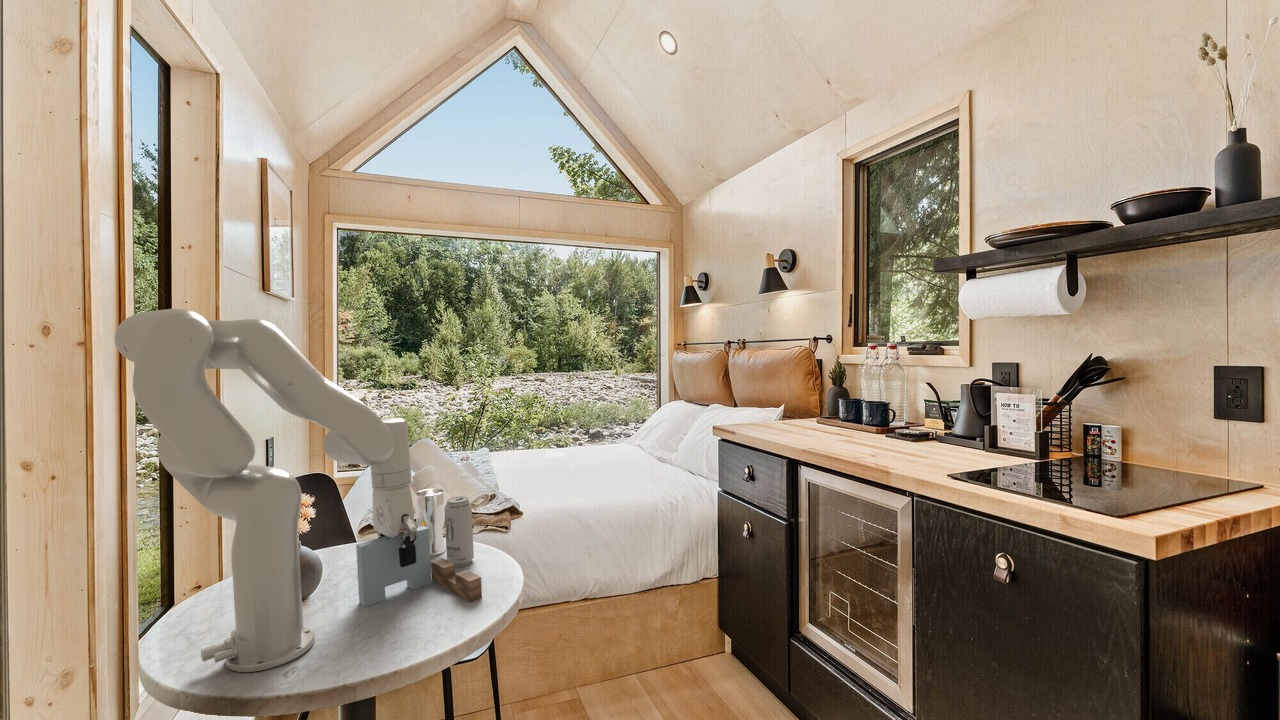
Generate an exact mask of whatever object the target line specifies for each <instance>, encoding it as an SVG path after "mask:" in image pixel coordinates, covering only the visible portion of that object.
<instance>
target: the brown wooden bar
mask: <svg viewBox="0 0 1280 720" xmlns="http://www.w3.org/2000/svg"><path fill="white" fill-rule="evenodd" d="M430 565H431V582H434V583H436V584H437V585H439V586H441V587H443V589H444V588H445V589H447V590H448V591H449V592H452V593H454V595H455V594H456V595H457V596H459V597H461V598H462V599H464V600H466V601H468V602H470V603H471V602H474V601H477V600H479V599H482V597H483V592H482V576H480V575H478V574H476V573H474V572H472V571H470V570H468V569H465V570H463V571H460V572H458V573H456V567H455V564H454V563H452V562H449V561H447V559H445V558H444V557H440V558H436V559H434V560H430Z"/></svg>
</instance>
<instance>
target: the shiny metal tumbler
mask: <svg viewBox="0 0 1280 720" xmlns="http://www.w3.org/2000/svg"><path fill="white" fill-rule="evenodd" d="M445 506H446V500H445V491H444V489H443V488H427V489H423V490H419V491H416V492H415V505H414V508H415V509H414V513H415V517H416V518H415V519H416V524H417V528H418V527H421V526H425V527H427V528H429V544H430V557H435V556H439V555H441V554H443V553H445V551H446V544H445V542H444V527H445V509H444V508H445Z"/></svg>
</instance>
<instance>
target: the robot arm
mask: <svg viewBox="0 0 1280 720" xmlns="http://www.w3.org/2000/svg"><path fill="white" fill-rule="evenodd" d="M114 344H115V346H116V348H117V350H118V352H119V353H120V354H121V355H122V356H123V357H124V358H125V359H127V360H128V361H130V362H132V363H134V367H133V373H132V375H133V377H132V392H133V395H134V400H135V401H136V404H137V405H138V407H139V409H140V410H141V412H142V413H143V415H144V416H145V417H146V419H147V420H148V421H149V422H150V423H151V424H152V426H154V428H155V429H156V430H157V432H158V433H159V434H160V436H159V438H158V442H157V446H156V447H157V449H156V450H157V455H158V458H159V461H160V462H161V464H162V465H163V468H165V470H166V471H167V472H168V473H169V474H170V475H171V476H172V477H173V478H174V479H175V480H176V481H177V482H178V483H179V484H180V485H181V486H182V487H183V488H184V490H186V491H187V492H188V493H189V494H190V495H191V496H192V497H193V499H195V500H196V501H197V502H198V503H199V504H201V506H202V507H204V509H205V510H207V511H208V512H210V513H212V514H213V515H215V516H218V517H220V518H223V519H227V520H231V521H235V531H234V535H233V538H232V543H231V550H230V551H231V553H230V556H231V558H230V560H231V562H230V563H231V572H232V573H231V574H232V586H233V589H232V590H233V605H234V607H233V608H234V618H235V619H234V620H235V630H232V631H231V632H230V637H229V638H227V639H224V641H223V642H222V643H218V644H216V645H215V644H214V645H211V646H208V647H205V648H202V649H200V658H201V661H202V663H204V662H206V661H210V660H212V659H213V662H214V663H219V662H220V661H224V660H225V662H226V667H227V668H228V669H229V670H231V671H234V672H239V673H250V672H251V673H254V672H260V671H266V670H270V669H272V668H275V667H276V668H277V667H278V666H281V665H284V664H287V663H289V662H291V661H293V660H295V659H297V658H299V657H300V656H302V655H303V654H304V653H306V652H308V650H309V649H311V647H312V646H313V645H314V642H315V633H314V631H313V630H312V629H310V628H308V627H305V626H304V616H303V614H304V613H303V601H302V600H303V598H302V597H303V596H302V582H301V581H302V580H301V577H302V576H301V564H300V552H299V551H300V548H299V546H300V545H299V523H300V514H301V507H302V498H303V496H302V495H303V494H302V490H301V486H300V484H299V482H298V480H297V479H296V477H295V476H293V475H292V474H291V473H289V472H288V471H286V470H284V469H281V468H278V467H274V466H267V465H259V464H252V462H253V461H254V459H255V455H256V446H255V442H254V440H253V438H252V436H251V434H250V433H249V432H248V431H247V430H246V428H245V427H244V426H243V425H242V424H241V422H239V421H238V420H237V418H236V417H235V416H234V415H233V414H232V413H231V412H230V410H228V408H227V407H226V406H225V405H224V404H223V403H222V402H221V400H220V399H219V398H218V396H217V395H216V394H215V393H214V391H213V389H212V388H211V387H210V385H209V383H208V381H207V378H206V370H241V371H242V372H243V373H244V374H245V375H246V376H247V377H248V378H249V379H250V380H251V381H252V382H254V383H255V384H256V385H257V386H258V387H259V388H260V389H261V390H262V391H263V392H264V393H266V395H268V397H270V399H271V400H273V401H274V403H276V404H277V405H278V406H279V407H280V408H281V409H282V410H284V411H286V412H288V413H289V414H290V415H293V416H296V417H297V418H300V419H303V420H305V421H308V422H311V423H313V424H315V425H319V426H321V427H322V428H324V429H326V430H329V431H328V432H327V433H326V434H325V436H324V438H323V441H322V449H323V452H324V454H325V455H326V457H328V458H330V459H331V460H333V461H336V462H337V463H338V462H339V463H342V464H343V463H345V464H353V465H354V464H355V465H363V466H370V474H371V476H370V477H371V478H370V479H371V487H372V488H371V489H372V525H373V529H374V530H375V531H376V533H377V536H378V537H377V538H381V537H385V536H387V537H389V538H395V536H397V539H398V541H399V544H400V548H399V560H400V567H406V566H408V565H411V564H414V563H416V548H415V544H416V538H417V537H416V533H417V528H418V527H417V525H415V509H414V505H413V498H412V497H413V496H412V491H411V486H410V485H411V484H412V483H413V482H412V469H411V456H410V455H411V454H410V442H409V429H408V423H407V421H406V419H404V418H400V417H385V418H380V417H379V416H378V415H377V413H375V412H374V411H373V410H372V409H371V408H370V407H369V406H368V405H366V404H365V403H364V402H363V401H361V400H360V399H358V398H357V397H355V396H354V395H352V394H350V393H349V392H348V391H346V390H345V389H343V388H342V387H340V386H339V385H337V384H336V383H334V382H333V381H330V380H329V379H328V378H326V377H325V376H324V375H323V374H322V372H320V371H319V370H318V369H317V367H315V366H314V365H313V364H312V362H310V360H309V359H308V358H307V357H306V356H305V355H304V354H303V353H302V352H301V351H300V349H298V348H297V346H296V345H295V344H294V343H292V341H291V340H290V339H289V338H288V337H287V336H286V335H285V333H283V332H282V330H281V329H279V328H278V327H277V326H276V325H274V324H273V323H271V322H270V321H267V320H264V319H261V318H260V319H259V318H258V319H256V318H249V319H247V318H246V319H237V320H235V319H233V320H218V319H214V320H213V319H205V317H204V316H203V315H201V314H199V313H197V312H195V311H193V310H189V309H183V308H168V309H158V310H150V311H142V312H138V313H135V314H133V315H131V316H128V317H127V318H125V319H124V320H122V321H121V323H120V324H119V325H118V326H117V328H116V330H115V333H114ZM406 535H408V536H406ZM402 536H406V538H405V540H403V537H402Z"/></svg>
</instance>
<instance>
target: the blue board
mask: <svg viewBox="0 0 1280 720" xmlns="http://www.w3.org/2000/svg"><path fill="white" fill-rule="evenodd" d="M416 528H417V533H416V537H417V538H416V544H415V548H416V563H414V564H411V565H408V566H406V567H400V560H399V548H400V544H399V541H398V539H397V536H395V538H389V537H387V536H385V537H381V538H378V537H377V538H374V539H371V540H367V541H364V542H360V543H356V544H355V548H356V562H357V563H356V567H357V581H358V584H357V585H358V600H359V601H358V602H359V604H360V605H361V606H362V607H364V608H366V607H368V606H370V605H374V604H376V603H380V602H382V601H384V600H386V588H387V587H389V586H392V585H396V584H399V583H401V582H405V581H406V586H407V587H408V588H409V589H411V590H413V591H414V590H416V589H418V588H421V587H423V586H427V585H430V584H432V575H431V556H430V544H429V528H427V527H425V526H421V527H418V526H417V527H416ZM406 536H408V535H406ZM406 536H402V537H403V540H405V538H406Z"/></svg>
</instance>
